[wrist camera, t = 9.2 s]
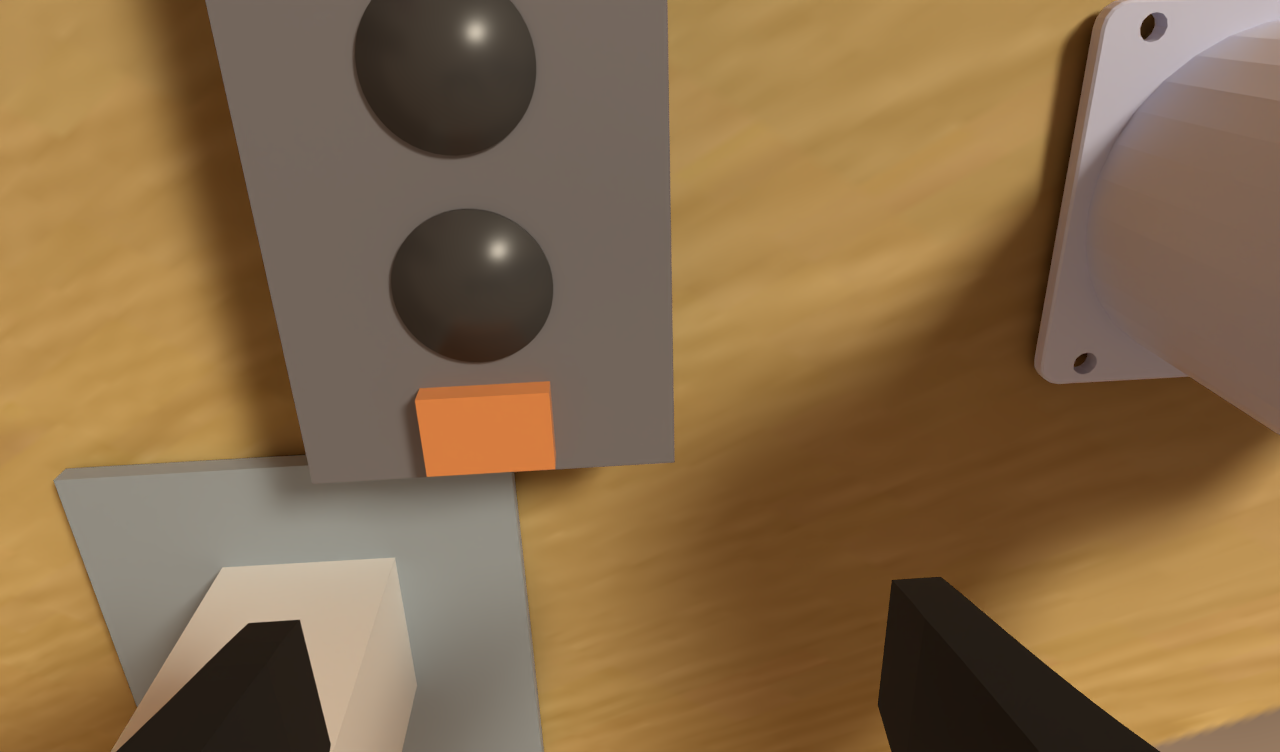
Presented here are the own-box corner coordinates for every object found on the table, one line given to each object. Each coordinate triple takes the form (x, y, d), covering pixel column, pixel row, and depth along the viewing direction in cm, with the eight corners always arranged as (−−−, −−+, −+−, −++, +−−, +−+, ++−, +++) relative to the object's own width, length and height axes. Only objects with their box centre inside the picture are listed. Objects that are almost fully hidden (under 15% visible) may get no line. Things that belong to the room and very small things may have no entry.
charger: (395, 557, 20) (325, 777, 15) (417, 685, 22) (361, 926, 16) (221, 567, 20) (85, 794, 15) (257, 695, 22) (146, 943, 16)
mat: (510, 442, 20) (509, 453, 19) (544, 755, 24) (543, 770, 24) (65, 468, 19) (53, 480, 19) (178, 783, 24) (171, 798, 23)
